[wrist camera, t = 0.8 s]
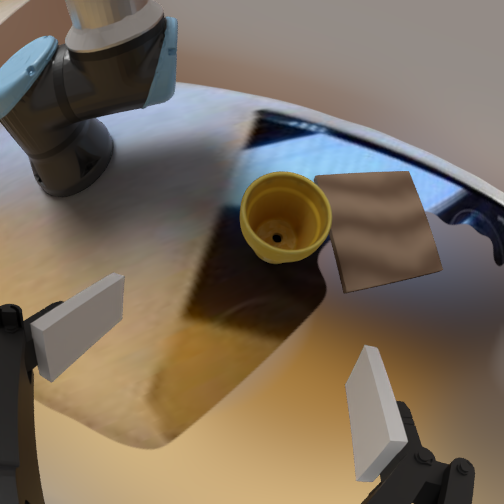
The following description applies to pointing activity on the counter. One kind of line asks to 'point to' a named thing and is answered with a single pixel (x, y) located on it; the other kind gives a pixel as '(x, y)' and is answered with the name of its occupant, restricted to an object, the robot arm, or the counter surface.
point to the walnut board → (378, 229)
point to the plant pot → (284, 217)
